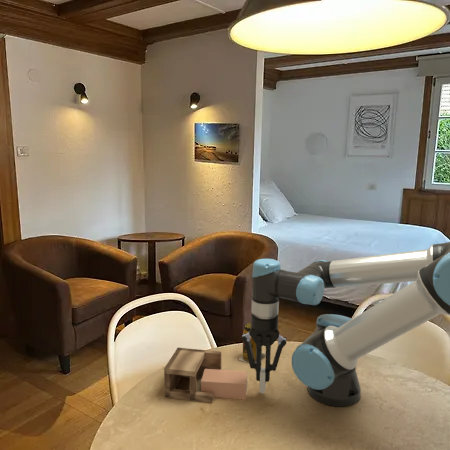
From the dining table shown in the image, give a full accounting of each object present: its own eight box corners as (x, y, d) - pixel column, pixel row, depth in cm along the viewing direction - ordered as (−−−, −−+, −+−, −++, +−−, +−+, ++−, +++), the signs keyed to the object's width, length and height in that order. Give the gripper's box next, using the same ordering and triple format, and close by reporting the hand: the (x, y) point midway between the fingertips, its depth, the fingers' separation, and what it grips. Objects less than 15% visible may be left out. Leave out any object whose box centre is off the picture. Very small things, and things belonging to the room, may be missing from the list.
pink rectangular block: (247, 386, 127) (247, 371, 126) (245, 400, 120) (246, 384, 119) (204, 383, 128) (204, 368, 127) (201, 397, 121) (201, 381, 120)
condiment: (237, 360, 142) (238, 327, 140) (248, 349, 149) (248, 318, 147) (257, 365, 138) (258, 331, 136) (267, 354, 146) (268, 322, 144)
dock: (221, 378, 130) (221, 351, 129) (212, 402, 118) (212, 373, 116) (178, 373, 133) (177, 347, 131) (164, 397, 120) (164, 368, 119)
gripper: (288, 310, 120) (285, 386, 124) (243, 307, 122) (242, 381, 126) (287, 321, 112) (284, 400, 117) (239, 317, 115) (238, 395, 119)
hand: (262, 390), depth 121 cm, fingers closed
